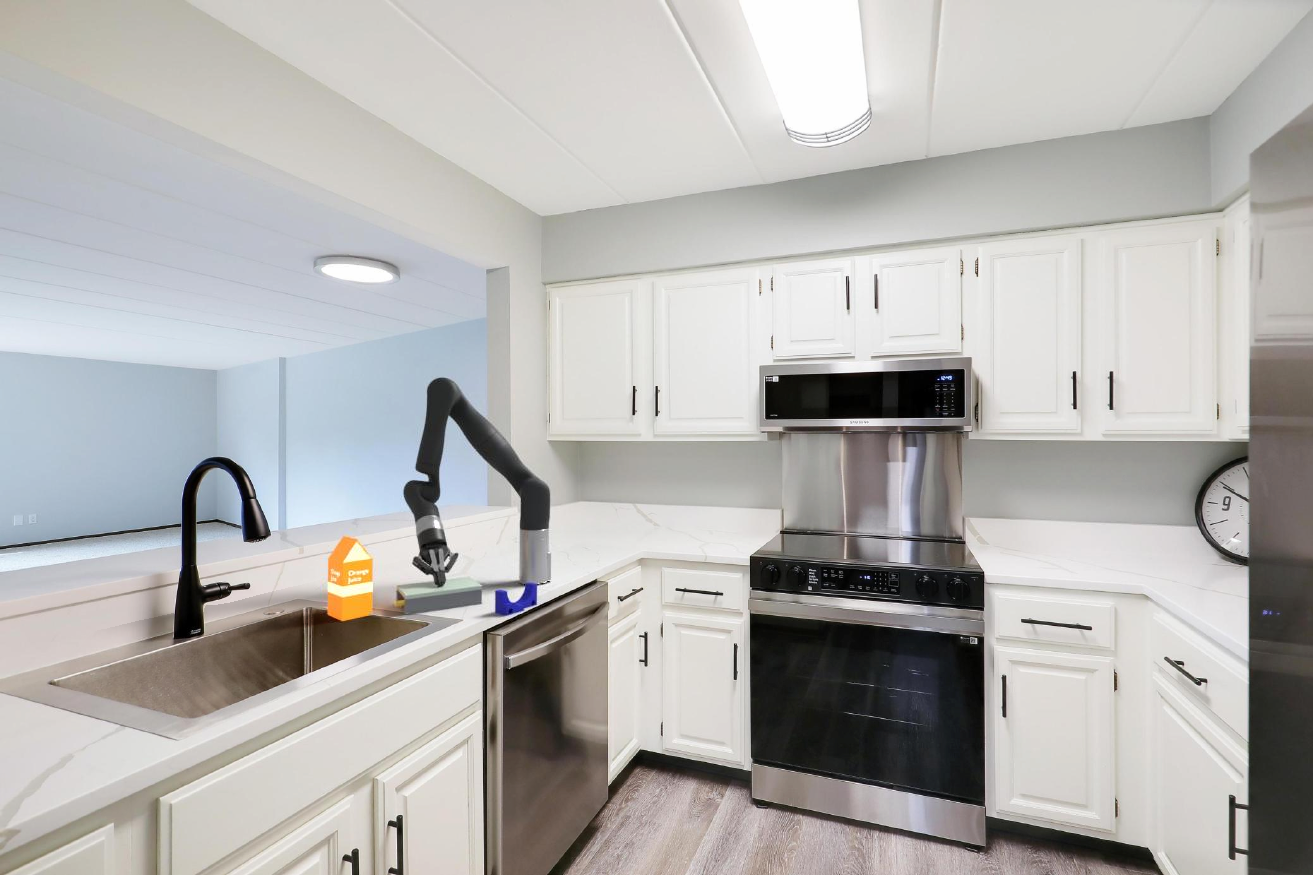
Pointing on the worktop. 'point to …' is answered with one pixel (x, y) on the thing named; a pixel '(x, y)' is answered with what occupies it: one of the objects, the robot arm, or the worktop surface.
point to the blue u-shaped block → (526, 600)
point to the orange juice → (350, 580)
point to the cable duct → (438, 601)
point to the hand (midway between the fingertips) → (441, 584)
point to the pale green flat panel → (438, 588)
